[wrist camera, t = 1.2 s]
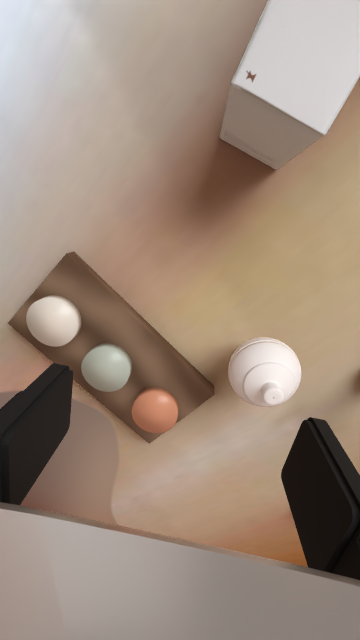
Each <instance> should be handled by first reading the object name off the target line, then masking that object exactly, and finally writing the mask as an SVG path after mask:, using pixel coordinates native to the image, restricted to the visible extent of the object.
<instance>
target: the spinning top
mask: <svg viewBox="0 0 360 640" xmlns="http://www.w3.org/2000/svg"><path fill="white" fill-rule="evenodd" d="M228 378H229V381H230V384H231V386H232V388H233V390H234V391H235V393H236V394H237V395H238V396H239V397H240V398H241V399H243V400H244V401H246V402H248V403H250V404H252V405H255V406H260V407H272V406H277V405H279V404H282V403H283V402H285V401H287V400H288V399H289V398H290V397H291V396H292V395H293V394H294V393H295V391H296V390H297V388H298V386H299V383H300V380H301V367H300V363H299V360H298V358H297V356H296V354H295V353H294V352H293V351H292V350H291V349H290V348H289V347H288V346H287V345H286V344H284V343H283V342H281V341H279V340H276V339H273V338H268V337H258V338H253V339H250V340H248V341H246V342H244V343H242V344H241V345H240V346H239V347H238V348H237V349H236V350H235V351H234V353H233V354H232V356H231V358H230V361H229V365H228Z"/></svg>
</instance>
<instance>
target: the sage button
mask: <svg viewBox="0 0 360 640" xmlns="http://www.w3.org/2000/svg"><path fill="white" fill-rule="evenodd" d="M81 370H82V374H83V376H84V378H85V380H86V381H87V382H88V383H89V384H90V385H91V386H92V387H94V388H95V389H97V390H100V391H104V392H112V391H116V390H119V389H121V388H122V387H123V386H124V385H125V384H126V382H127V381H128V378H129V376H130V374H131V372H132V362H131V359H130V357H129V355H128V354H127V353H126V352H125V351H124V350H123V349H122V348H120V347H119V346H116V345H114V344H108V343H105V344H99V345H97V346H95V347H94V348H92V349H91V350H90V351H89V353H88V354H87V355H86V356H85V357H84V359H83V361H82V365H81Z"/></svg>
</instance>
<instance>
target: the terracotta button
mask: <svg viewBox="0 0 360 640" xmlns="http://www.w3.org/2000/svg"><path fill="white" fill-rule="evenodd" d="M178 409H179V406H178V402H177V400H176V398H175V397H174V396H173V394H171V393H170V392H169V391H167V390H165V389H162V388H157V387H153V388H147V389H145V390H143V391H141V392H140V393H139V394H138V395H137V397H136V399H135V402H134V404H133V407H132V418H133V420H134V422H135V423H136V424H137V425H138V426H139V427H140V428H141V429H143V430H145V431H147V432H151V433H163V432H166V431H168V430H170V429H171V428H172V427H173V426H174V425H175V423H176V421H177V417H178Z"/></svg>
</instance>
